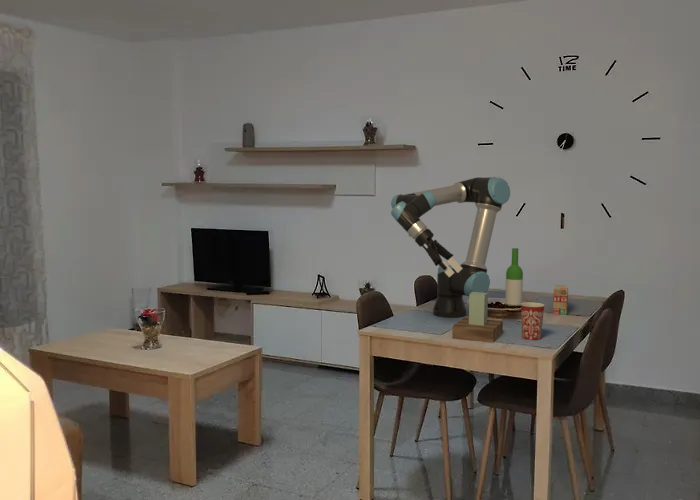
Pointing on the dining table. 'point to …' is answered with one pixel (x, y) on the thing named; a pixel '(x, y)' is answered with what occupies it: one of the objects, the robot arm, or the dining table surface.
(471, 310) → the green block
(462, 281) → the robot arm
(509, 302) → the wine bottle
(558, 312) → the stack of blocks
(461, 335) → the walnut riser
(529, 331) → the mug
